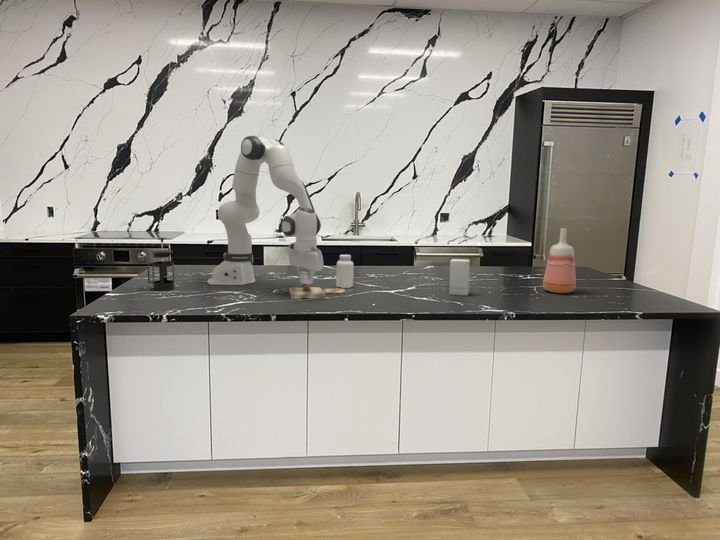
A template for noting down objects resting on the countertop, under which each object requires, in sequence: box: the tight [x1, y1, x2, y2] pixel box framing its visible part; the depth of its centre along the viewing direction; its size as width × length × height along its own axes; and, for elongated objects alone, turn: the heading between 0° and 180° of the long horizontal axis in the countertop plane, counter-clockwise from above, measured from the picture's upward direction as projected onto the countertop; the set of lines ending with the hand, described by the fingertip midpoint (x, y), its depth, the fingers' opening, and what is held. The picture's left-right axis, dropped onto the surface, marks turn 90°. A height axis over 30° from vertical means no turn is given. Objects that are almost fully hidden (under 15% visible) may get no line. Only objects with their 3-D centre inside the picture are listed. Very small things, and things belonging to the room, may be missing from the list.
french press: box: [147, 237, 176, 292], centre depth 244 cm, size 12×9×23 cm
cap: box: [299, 268, 314, 285], centre depth 237 cm, size 6×6×6 cm
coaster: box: [322, 287, 346, 295], centre depth 247 cm, size 10×10×1 cm
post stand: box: [288, 283, 326, 300], centre depth 238 cm, size 14×14×9 cm
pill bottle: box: [335, 254, 354, 289], centre depth 258 cm, size 8×8×15 cm
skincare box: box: [449, 258, 471, 296], centre depth 245 cm, size 8×7×16 cm
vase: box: [542, 227, 577, 294], centre depth 254 cm, size 14×14×30 cm
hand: (305, 278), depth 237 cm, fingers closed on cap, 6 cm apart
